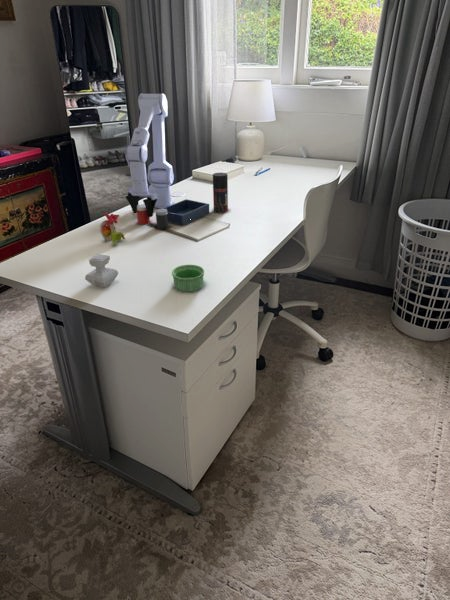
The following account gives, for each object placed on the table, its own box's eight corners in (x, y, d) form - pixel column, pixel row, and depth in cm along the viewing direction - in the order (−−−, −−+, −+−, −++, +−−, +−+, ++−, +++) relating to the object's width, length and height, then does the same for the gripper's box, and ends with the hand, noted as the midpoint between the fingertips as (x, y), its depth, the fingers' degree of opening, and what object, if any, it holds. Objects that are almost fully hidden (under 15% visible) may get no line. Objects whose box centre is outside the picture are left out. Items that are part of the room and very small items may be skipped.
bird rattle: (101, 249, 148) (118, 244, 142) (87, 220, 144) (103, 213, 139) (113, 243, 152) (130, 238, 147) (100, 214, 149) (116, 207, 144)
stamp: (103, 275, 126) (98, 249, 121) (122, 279, 123) (118, 252, 119) (83, 289, 118) (78, 261, 114) (103, 293, 116) (98, 265, 112)
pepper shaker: (154, 227, 160) (152, 211, 157) (162, 224, 163) (161, 207, 160) (163, 230, 158) (161, 213, 154) (171, 226, 161) (170, 209, 158)
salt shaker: (135, 223, 165) (133, 206, 162) (144, 219, 168) (142, 203, 165) (144, 225, 163) (142, 208, 159) (152, 221, 166) (150, 205, 163)
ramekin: (167, 289, 117) (166, 275, 115) (181, 276, 124) (180, 262, 122) (196, 295, 114) (196, 280, 112) (209, 280, 122) (209, 267, 119)
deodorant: (226, 213, 174) (225, 176, 166) (212, 212, 175) (211, 175, 167) (229, 208, 179) (228, 172, 171) (215, 208, 180) (214, 172, 172)
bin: (159, 219, 168) (158, 210, 166) (186, 208, 180) (186, 199, 178) (182, 225, 162) (181, 215, 160) (209, 213, 174) (209, 203, 172)
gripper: (117, 179, 158) (122, 214, 165) (145, 184, 151) (149, 221, 157) (131, 175, 163) (135, 209, 170) (159, 180, 156) (162, 215, 162)
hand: (143, 214), depth 164 cm, fingers open, 7 cm apart
